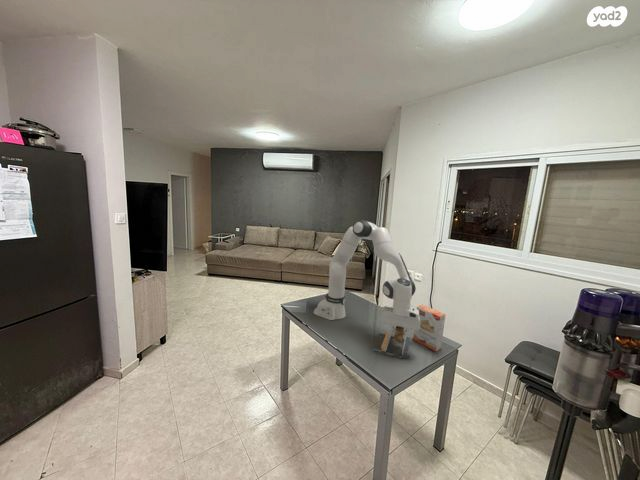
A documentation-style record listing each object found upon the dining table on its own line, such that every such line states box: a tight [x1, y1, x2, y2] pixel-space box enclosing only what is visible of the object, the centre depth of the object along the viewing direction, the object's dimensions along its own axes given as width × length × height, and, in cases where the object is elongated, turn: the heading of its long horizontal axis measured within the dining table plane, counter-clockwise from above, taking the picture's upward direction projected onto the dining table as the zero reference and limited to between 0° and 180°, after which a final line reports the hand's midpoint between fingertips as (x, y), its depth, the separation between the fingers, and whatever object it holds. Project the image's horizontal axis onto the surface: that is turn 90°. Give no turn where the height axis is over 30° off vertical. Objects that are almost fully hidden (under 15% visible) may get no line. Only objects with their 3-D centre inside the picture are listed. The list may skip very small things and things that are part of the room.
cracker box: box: [413, 304, 446, 352], centre depth 137 cm, size 14×6×21 cm, turn 36°
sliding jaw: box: [380, 331, 392, 352], centre depth 138 cm, size 3×16×3 cm, turn 156°
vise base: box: [372, 332, 411, 360], centre depth 136 cm, size 17×19×3 cm
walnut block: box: [393, 326, 405, 344], centre depth 132 cm, size 4×8×6 cm, turn 156°
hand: (399, 333), depth 132 cm, fingers closed on walnut block, 4 cm apart
